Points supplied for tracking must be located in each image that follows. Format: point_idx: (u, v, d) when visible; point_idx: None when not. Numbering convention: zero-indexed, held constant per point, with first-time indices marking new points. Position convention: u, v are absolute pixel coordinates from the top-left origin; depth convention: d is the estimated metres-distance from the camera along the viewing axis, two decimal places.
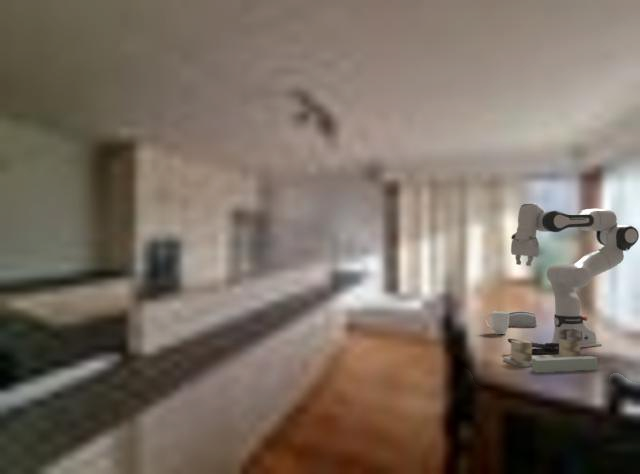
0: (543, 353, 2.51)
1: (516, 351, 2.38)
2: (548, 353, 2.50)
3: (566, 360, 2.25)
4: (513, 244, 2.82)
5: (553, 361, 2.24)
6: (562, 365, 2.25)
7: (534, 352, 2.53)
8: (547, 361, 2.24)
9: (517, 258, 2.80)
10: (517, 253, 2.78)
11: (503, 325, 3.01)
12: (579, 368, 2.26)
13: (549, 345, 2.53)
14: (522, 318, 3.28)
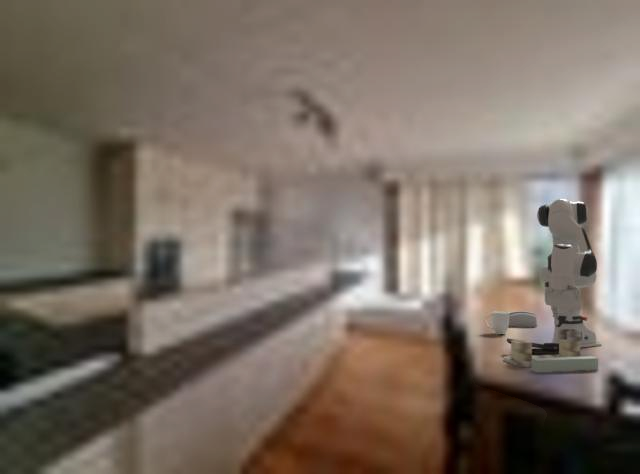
0: (542, 353, 2.51)
1: (516, 351, 2.38)
2: (547, 353, 2.51)
3: (566, 360, 2.25)
4: (547, 293, 2.35)
5: (553, 361, 2.24)
6: (562, 365, 2.25)
7: (533, 352, 2.53)
8: (547, 361, 2.24)
9: (553, 310, 2.33)
10: (553, 304, 2.31)
11: (503, 325, 3.01)
12: (579, 368, 2.26)
13: (548, 345, 2.53)
14: (522, 318, 3.28)
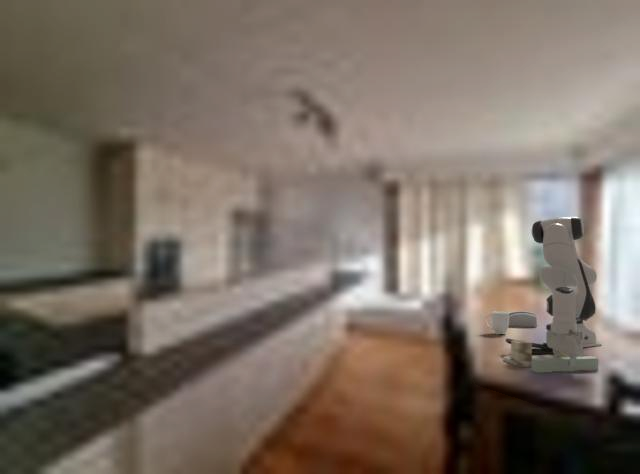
0: (541, 353, 2.51)
1: (516, 351, 2.38)
2: (546, 353, 2.51)
3: (566, 360, 2.25)
4: (549, 335, 2.35)
5: (553, 361, 2.25)
6: (562, 365, 2.25)
7: (532, 352, 2.53)
8: (547, 361, 2.24)
9: (555, 353, 2.33)
10: (555, 348, 2.30)
11: (503, 325, 3.01)
12: (579, 368, 2.26)
13: None
14: (522, 318, 3.27)
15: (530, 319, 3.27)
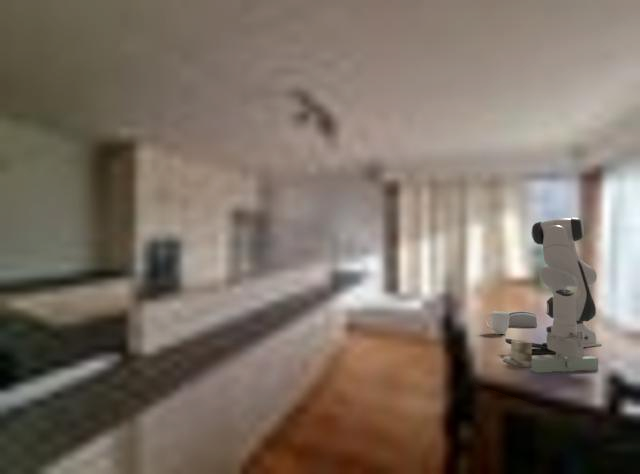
0: (540, 353, 2.51)
1: (516, 351, 2.38)
2: (545, 353, 2.51)
3: (566, 360, 2.25)
4: (549, 338, 2.35)
5: (553, 361, 2.25)
6: (562, 365, 2.25)
7: None
8: (547, 361, 2.24)
9: (558, 356, 2.31)
10: (555, 350, 2.30)
11: (503, 325, 3.01)
12: (579, 368, 2.26)
13: (546, 345, 2.53)
14: (522, 318, 3.27)
15: (530, 319, 3.27)
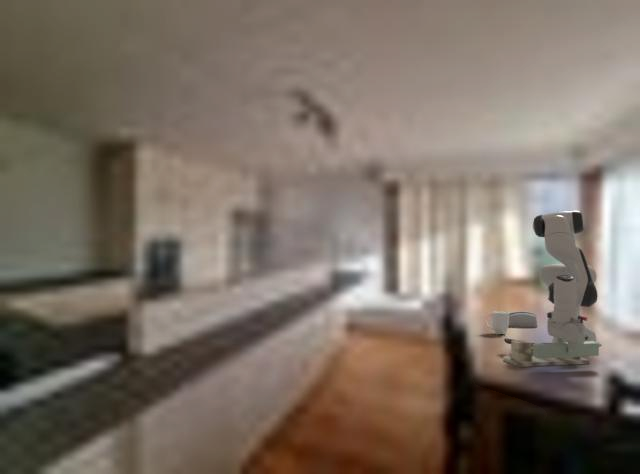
0: None
1: (516, 351, 2.38)
2: None
3: (567, 345, 2.26)
4: (550, 323, 2.35)
5: (554, 346, 2.25)
6: (563, 350, 2.25)
7: None
8: (547, 346, 2.24)
9: (559, 341, 2.31)
10: (556, 336, 2.31)
11: (503, 325, 3.01)
12: (580, 353, 2.26)
13: None
14: (522, 318, 3.27)
15: (530, 319, 3.26)
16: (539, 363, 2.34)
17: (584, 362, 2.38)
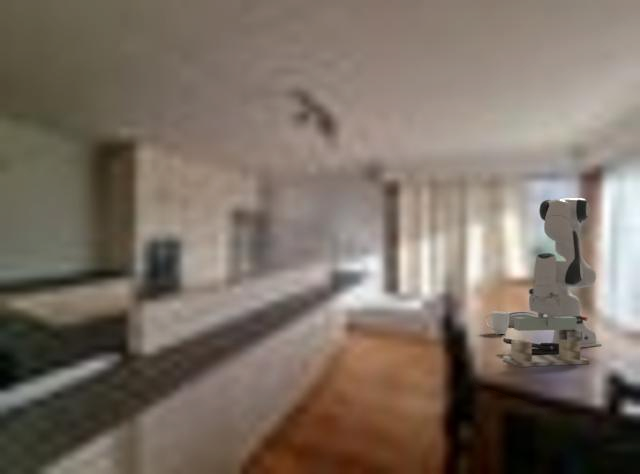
0: (538, 353, 2.51)
1: (516, 351, 2.38)
2: (543, 353, 2.51)
3: (547, 319, 2.39)
4: (531, 299, 2.48)
5: (534, 319, 2.38)
6: (543, 323, 2.39)
7: None
8: (528, 319, 2.38)
9: (540, 316, 2.44)
10: (537, 310, 2.44)
11: (503, 325, 3.01)
12: (559, 327, 2.40)
13: (544, 345, 2.54)
14: None
15: None
16: (539, 363, 2.34)
17: (584, 362, 2.38)
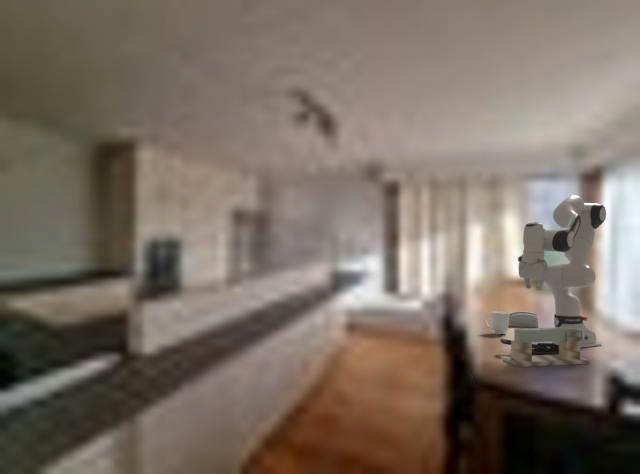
0: (536, 353, 2.51)
1: (516, 351, 2.38)
2: (541, 353, 2.51)
3: (547, 330, 2.39)
4: (520, 266, 2.63)
5: (534, 331, 2.38)
6: (543, 335, 2.39)
7: None
8: (528, 331, 2.38)
9: (526, 281, 2.61)
10: (526, 276, 2.59)
11: (503, 325, 3.01)
12: (559, 338, 2.40)
13: (541, 345, 2.53)
14: (523, 318, 3.27)
15: (531, 319, 3.26)
16: (539, 363, 2.34)
17: (584, 362, 2.38)
